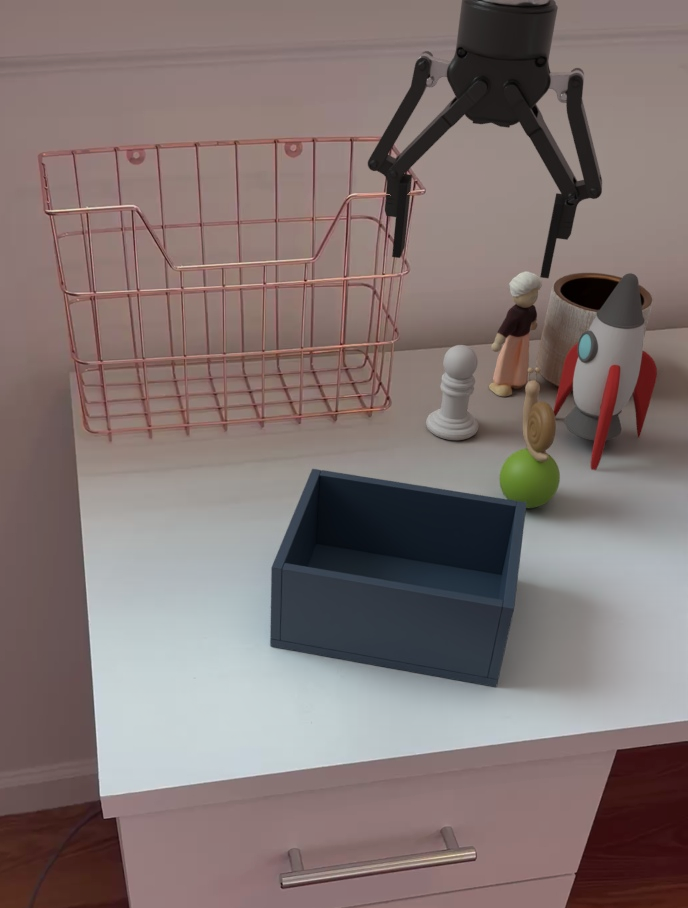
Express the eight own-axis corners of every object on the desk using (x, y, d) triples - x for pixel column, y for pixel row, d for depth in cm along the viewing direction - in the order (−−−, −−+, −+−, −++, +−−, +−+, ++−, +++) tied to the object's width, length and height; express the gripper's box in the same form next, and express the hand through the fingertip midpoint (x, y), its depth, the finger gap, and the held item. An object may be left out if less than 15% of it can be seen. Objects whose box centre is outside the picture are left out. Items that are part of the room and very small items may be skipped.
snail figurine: (537, 478, 99) (562, 364, 91) (562, 517, 95) (591, 399, 87) (483, 483, 98) (504, 367, 90) (506, 522, 94) (530, 404, 85)
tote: (510, 578, 87) (526, 502, 82) (496, 687, 77) (514, 608, 72) (308, 544, 90) (312, 468, 84) (269, 646, 80) (271, 567, 74)
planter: (543, 396, 111) (561, 312, 105) (527, 350, 119) (543, 269, 113) (642, 400, 112) (666, 317, 105) (620, 354, 120) (641, 273, 113)
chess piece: (446, 447, 103) (458, 364, 97) (415, 422, 106) (425, 341, 100) (488, 434, 105) (502, 352, 99) (456, 410, 108) (468, 330, 102)
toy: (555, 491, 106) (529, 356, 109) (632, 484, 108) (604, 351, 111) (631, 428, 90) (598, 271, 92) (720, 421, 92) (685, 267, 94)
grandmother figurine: (511, 404, 110) (533, 289, 101) (478, 394, 111) (497, 280, 102) (537, 376, 115) (560, 264, 106) (505, 367, 116) (525, 255, 108)
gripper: (345, -14, 79) (330, 259, 93) (675, 21, 76) (607, 297, 90) (363, -31, 85) (346, 229, 99) (671, 1, 82) (608, 264, 96)
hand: (471, 262), depth 95 cm, fingers open, 13 cm apart
